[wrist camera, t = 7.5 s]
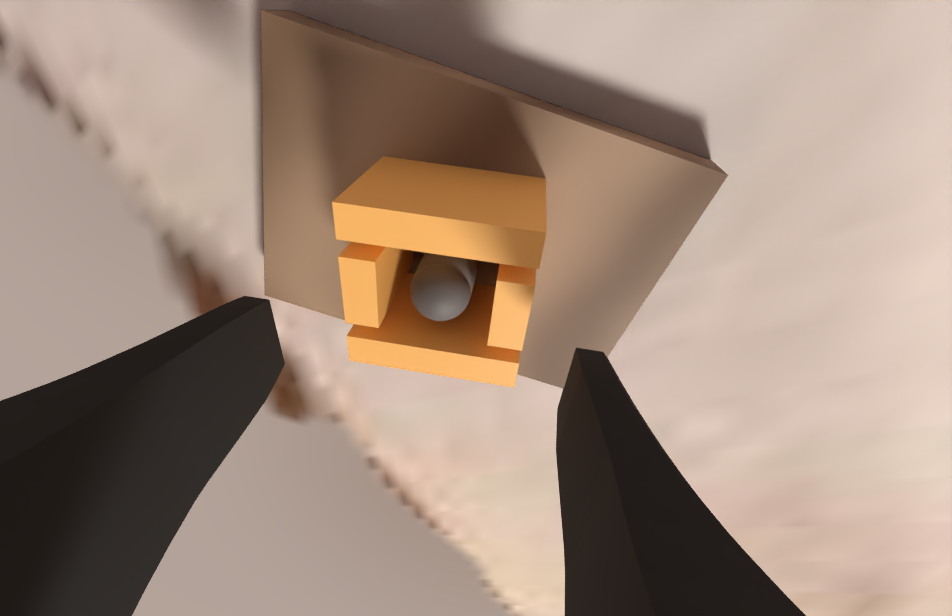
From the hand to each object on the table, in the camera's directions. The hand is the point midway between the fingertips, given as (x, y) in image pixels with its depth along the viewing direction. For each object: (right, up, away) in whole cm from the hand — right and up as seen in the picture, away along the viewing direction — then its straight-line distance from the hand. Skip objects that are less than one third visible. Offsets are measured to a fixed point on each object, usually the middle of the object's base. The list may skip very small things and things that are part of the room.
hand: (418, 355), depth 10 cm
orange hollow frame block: (+1, +3, +5) cm, 6 cm away
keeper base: (+1, +4, +6) cm, 7 cm away
